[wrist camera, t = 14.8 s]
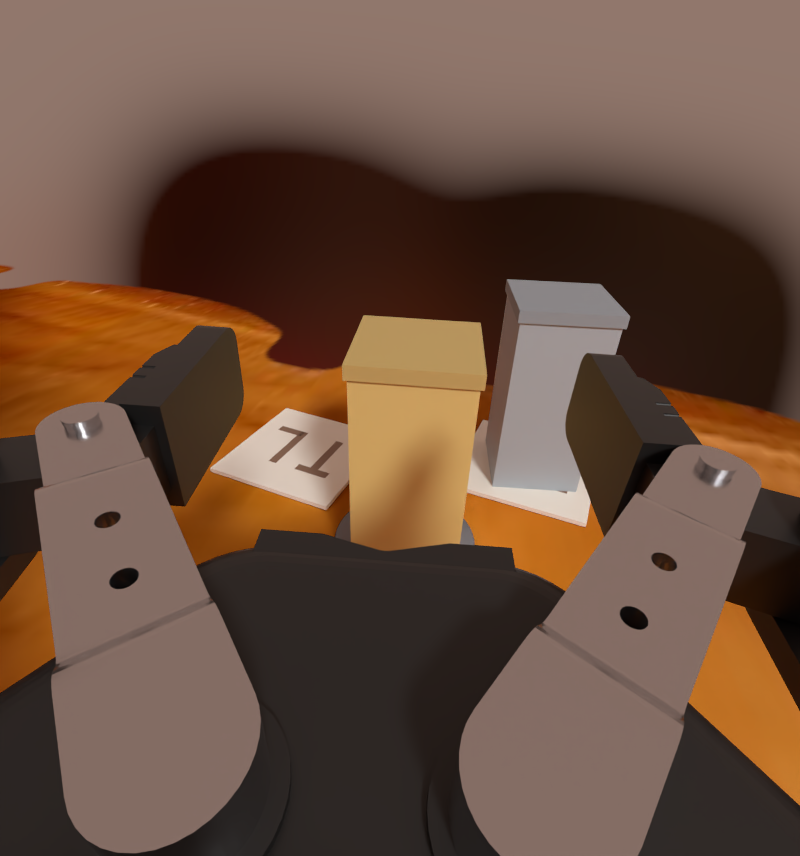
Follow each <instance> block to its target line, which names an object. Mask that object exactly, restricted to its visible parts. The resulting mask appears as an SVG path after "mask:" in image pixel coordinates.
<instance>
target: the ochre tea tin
mask: <svg viewBox="0 0 800 856" xmlns="http://www.w3.org/2000/svg"><path fill="white" fill-rule="evenodd" d="M342 378H343V381H347V406H348V447H349V488H350V530H351V542H353V543H357V544H360V545H364V546H367V547H371V548H374V549H378V550H382V551H393V550H401V549H409V548H417V547H425V546H433V545H441V544H449V543H452V544H460V539H461V531H462V524H463V517H464V509H465V502H466V495H467V487H468V480H469V473H470V465H471V458H472V451H473V443H474V436H475V429H476V421H477V414H478V407H479V400H480V392H481V391H485V386H486V378H487V371H486V363H485V356H484V347H483V338H482V330H481V323H473V322H459V321H443V320H427V319H413V318H397V317H381V316H366V315H364V316H363V318H362V321H361V323H360V326H359V327H358V330H357V332H356V334H355V337H354V339H353V341H352V344H351V346H350V348H349V350H348V353H347V355H346V357H345V360H344V362H343V364H342Z"/></svg>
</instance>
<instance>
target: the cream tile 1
mask: <svg viewBox="0 0 800 856" xmlns="http://www.w3.org/2000/svg"><path fill="white" fill-rule="evenodd" d="M210 470H211V472H213V473H216V474H219V475H222V476H225V477H228V478H231V479H234V480H237V481H240V482H243V483H246V484H249V485H252V486H255V487H258V488H261V489H264V490H267V491H270V492H273V493H276V494H279V495H282V496H285V497H288V498H291V499H294V500H297V501H300V502H303V503H306V504H309V505H312V506H315V507H318V508H321V509H324V510H327V509H328V508H329V507H330V505H331V504H332V503H333V502H334V501H335V499H336V498H337V497H338V496H339V495H340V493H341V492H342V491H343V490H344V489H345V488H346V486H347V485H348V484H349V447H348V424H344V423H340V422H337V421H333V420H329V419H325V418H322V417H318V416H314V415H311V414H307V413H303V412H299V411H296V410H292V409H288V408H286V409H285V410H283V411H282V412H281V413H279V414H278V415H277V416H276V417H274V418H273V419H272V420H271V421H269V422H268V423H267V424H265V425H264V426H263V427H262V428H260V429H259V430H258V431H257V432H255V433H254V434H253V435H251V436H250V437H249V438H248V439H246V440H245V441H244V442H243V443H241V444H240V445H239V446H238V447H236V448H235V449H234V450H232V451H231V452H230V453H229V454H227V455H226V456H225V457H224V458H222V459H221V460H220V461H218V462H217V463H216V464H215V465H213V466H212V467H211V468H210Z"/></svg>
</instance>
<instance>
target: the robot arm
mask: <svg viewBox="0 0 800 856" xmlns="http://www.w3.org/2000/svg"><path fill="white" fill-rule="evenodd" d="M142 366H143V367H142V368H139V369H138V370H137V371H136V372H135V373H134V374H133V377H130V378H129V379H128V380H127V381H126V382H124V383H123V384H122V385H121V386H120V387H119V388H118V389H117V390H116V391H115V392H114V393H113V394H112V395H111V396H110V397H109V398H108V399H107V400H106V401H105V402H90V403H82V404H77V405H73V406H70V407H67V408H64V409H61V410H59V411H56V412H54V413H53V414H51V415H49V416H48V417H46V418H45V419H43V420H42V421H41V422H40V423H39V425H38V426H37V428H36V430H35V435H29V436H19V437H10V438H1V439H0V601H1V600H2V598H3V597H4V596H5V594H6V593H7V592H8V590H9V589H10V588H11V587H12V585H13V584H14V583H15V581H16V580H17V579H18V577H19V576H20V575H21V574H22V572H23V571H24V570H25V568H26V567H27V566H28V564H29V563H30V562H31V561H32V559H33V558H34V557H35V555H36V554H37V552H38V551H42V555H43V563H44V571H45V578H46V586H47V593H48V601H49V608H50V616H51V623H52V631H53V639H54V646H55V654H56V657H54V658H53V659H51V660H50V661H48V662H47V663H45V664H44V665H42V666H41V667H39V668H38V669H36V670H35V671H33V672H32V673H30V674H29V675H27V676H25V677H24V678H22V679H21V680H19V681H18V682H16V683H15V684H13V685H12V686H10V687H9V688H7V689H6V690H4V691H3V692H1V693H0V856H800V806H799V805H798V804H797V803H796V802H795V801H794V800H793V799H792V798H791V797H790V796H789V795H788V794H787V793H785V792H784V791H783V790H782V789H781V788H780V787H779V786H778V785H777V784H776V783H775V782H774V781H772V780H771V779H770V778H769V777H768V776H767V775H766V774H765V773H764V772H763V771H762V770H761V769H760V768H758V767H757V766H756V765H755V764H754V763H753V762H752V761H751V760H750V759H749V758H748V757H747V756H745V755H744V754H743V753H742V752H741V751H740V750H739V749H738V748H737V747H736V746H735V745H734V744H733V743H731V742H730V741H729V740H728V739H727V738H726V737H725V736H724V735H723V734H722V733H721V732H720V731H719V730H717V729H716V728H715V727H714V726H713V725H712V724H711V723H710V722H709V721H708V720H707V719H706V718H704V717H703V716H702V715H701V714H700V713H699V712H698V711H697V710H696V709H695V708H694V707H693V706H692V705H690V704H689V703H688V701H689V698H690V695H691V693H692V690H693V687H694V684H695V682H696V679H697V676H698V673H699V671H700V668H701V665H702V663H703V660H704V657H705V654H706V652H707V649H708V646H709V644H710V641H711V638H712V635H713V633H714V630H715V627H716V624H717V622H718V619H719V616H720V614H721V611H722V608H723V605H724V603H725V601H728V602H731V603H734V604H737V605H741V606H744V607H745V608H746V610H747V612H748V614H749V616H750V618H751V620H752V622H753V624H754V626H755V627H756V629H757V631H758V633H759V635H760V637H761V639H762V641H763V643H764V644H765V646H766V648H767V650H768V652H769V654H770V656H771V658H772V659H773V661H774V663H775V665H776V667H777V669H778V671H779V673H780V674H781V676H782V678H783V680H784V682H785V684H786V686H787V688H788V690H789V691H790V693H791V695H792V697H793V699H794V701H795V703H796V705H797V706H798V708H799V710H800V498H799V497H795V496H791V495H787V494H783V493H779V492H775V491H771V490H768V489H764V488H761V479H760V477H759V475H758V473H757V472H756V471H755V470H754V469H753V468H752V467H751V466H750V465H749V464H747V463H746V462H745V461H743V460H741V459H740V458H738V457H736V456H734V455H732V454H730V453H728V452H726V451H723V450H720V449H717V448H713V447H709V446H704V445H702V444H701V443H700V441H699V440H698V439H697V437H696V436H695V435H694V433H693V432H692V431H691V429H690V428H689V427H688V425H687V424H686V423H685V421H684V420H683V419H682V418H681V417H679V414H678V412H677V411H676V410H675V408H674V407H673V406H671V403H670V402H669V400H668V399H667V398H666V396H665V395H664V394H663V392H662V391H661V390H660V389H658V388H657V387H655V386H654V385H652V384H651V383H649V382H648V381H647V380H645V379H643V378H638V377H637V376H636V375H635V373H634V372H633V371H632V369H631V368H630V366H629V365H628V363H627V362H626V360H625V359H624V358H623V356H621V355H610V354H595V353H587V354H585V355H584V357H583V359H582V361H581V364H580V367H579V371H578V374H577V378H576V381H575V385H574V389H573V392H572V396H571V399H570V403H569V407H568V410H567V414H566V422H565V432H566V438H567V441H568V443H569V446H570V448H571V451H572V454H573V456H574V459H575V461H576V464H577V467H578V469H579V472H580V475H581V477H582V480H583V482H584V485H585V488H586V490H587V493H588V495H589V498H590V501H591V503H592V506H593V509H594V511H595V514H596V516H597V519H598V522H599V524H600V527H601V529H602V532H603V535H604V538H603V540H602V541H601V543H600V544H599V545H598V547H597V548H596V550H595V551H594V552H593V554H592V555H591V557H590V558H589V559H588V561H587V562H586V564H585V565H584V567H583V568H582V569H581V571H580V572H579V574H578V575H577V576H576V578H575V579H574V581H573V582H572V583H571V585H570V586H569V588H568V589H567V590H566V591H564V590H563V589H561V588H559V587H558V586H556V585H554V584H553V583H551V582H549V581H547V580H545V579H543V578H541V577H539V576H537V575H534V574H532V573H529V572H527V571H524V570H521V569H518V568H515V565H514V559H513V553H512V548H505V547H492V546H478V545H465V544H452V543H449V544H441V545H433V546H425V547H417V548H409V549H401V550H393V551H382V550H378V549H374V548H371V547H367V546H364V545H360V544H357V543H353V542H350V541H346V540H343V539H339V538H336V537H332V536H329V535H325V534H319V533H306V532H293V531H279V530H266V529H261V532H260V534H259V537H258V539H257V542H256V544H255V547H254V548H250V549H244V550H240V551H235V552H231V553H228V554H225V555H221V556H218V557H215V558H213V559H211V560H208V561H206V562H203V563H201V564H199V565H197V566H196V564H195V562H194V560H193V558H192V555H191V553H190V551H189V548H188V546H187V544H186V541H185V539H184V537H183V535H182V532H181V530H180V528H179V525H178V523H177V521H176V518H175V516H174V514H173V511H172V509H171V507H170V505H173V506H186V504H187V502H188V501H189V499H190V497H191V496H192V494H193V492H194V491H195V489H196V487H197V486H198V484H199V482H200V480H201V479H202V477H203V475H204V474H205V472H206V470H207V469H208V467H209V465H210V464H211V462H212V460H213V459H214V457H215V455H216V453H217V452H218V450H219V448H220V447H221V445H222V443H223V442H224V440H225V438H226V437H227V435H228V433H229V432H230V430H231V428H232V427H233V425H234V423H235V421H236V420H237V418H238V416H239V415H240V412H241V410H242V405H243V397H244V391H243V382H242V375H241V368H240V361H239V354H238V347H237V340H236V336H235V333H234V331H233V329H232V328H227V327H212V326H196V327H195V328H194V329H193V330H192V331H191V332H190V333H189V334H188V335H187V336H186V337H185V338H184V339H183V340H182V341H181V342H180V343H179V344H178V345H172V346H170V347H168V348H166V349H164V350H162V351H160V352H157V353H155V354H154V355H153V356H152V357H151V358H150V359H149V360H148V361H146V362H145V363H144V364H143V365H142Z"/></svg>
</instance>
